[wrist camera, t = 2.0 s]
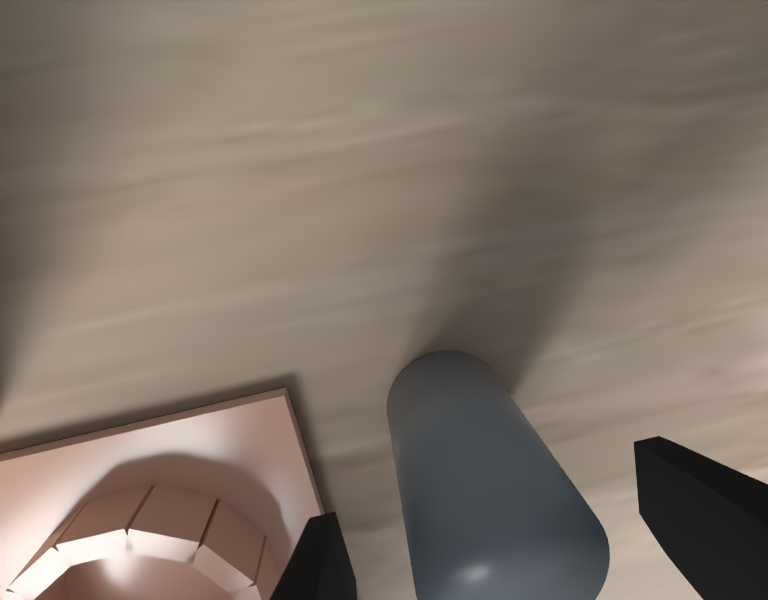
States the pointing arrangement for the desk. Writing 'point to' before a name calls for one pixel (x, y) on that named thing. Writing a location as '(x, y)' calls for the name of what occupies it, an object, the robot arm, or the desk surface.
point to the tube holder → (159, 507)
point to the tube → (486, 492)
